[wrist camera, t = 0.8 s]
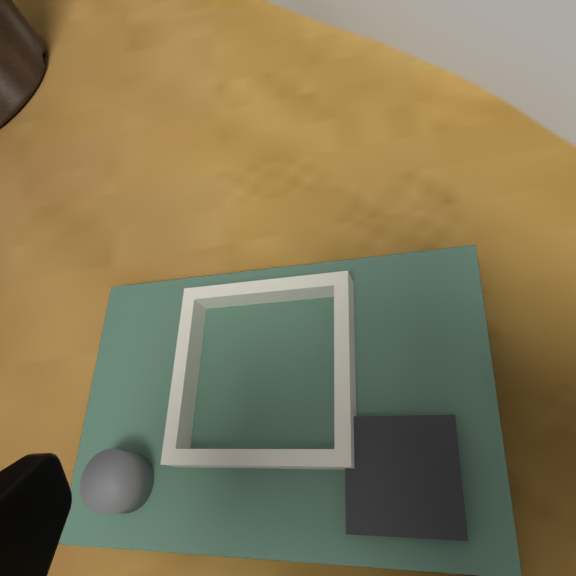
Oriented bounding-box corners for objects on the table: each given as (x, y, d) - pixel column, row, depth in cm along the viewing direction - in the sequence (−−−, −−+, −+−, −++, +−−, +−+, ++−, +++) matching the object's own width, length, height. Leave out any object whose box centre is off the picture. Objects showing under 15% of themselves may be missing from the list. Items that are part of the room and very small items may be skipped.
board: (519, 575, 16) (528, 585, 14) (75, 542, 22) (30, 546, 19) (475, 255, 21) (476, 225, 19) (122, 294, 26) (91, 274, 24)
